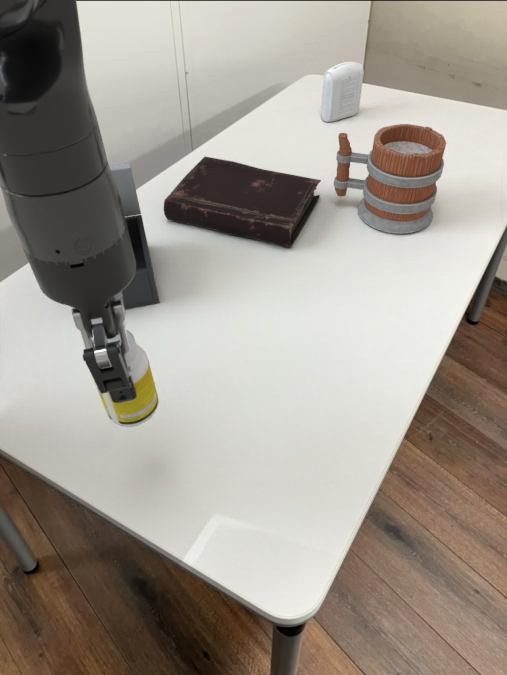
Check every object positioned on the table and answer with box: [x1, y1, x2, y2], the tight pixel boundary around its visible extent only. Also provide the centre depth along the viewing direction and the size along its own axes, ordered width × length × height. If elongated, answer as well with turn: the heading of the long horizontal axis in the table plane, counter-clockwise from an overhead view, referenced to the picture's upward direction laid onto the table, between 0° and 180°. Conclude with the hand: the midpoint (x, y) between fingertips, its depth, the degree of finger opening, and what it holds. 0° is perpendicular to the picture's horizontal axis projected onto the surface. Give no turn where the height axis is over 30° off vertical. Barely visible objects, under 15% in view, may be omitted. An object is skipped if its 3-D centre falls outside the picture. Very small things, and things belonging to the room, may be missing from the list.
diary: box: [163, 156, 322, 249], centre depth 98 cm, size 19×25×5 cm
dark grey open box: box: [122, 214, 160, 310], centre depth 84 cm, size 16×13×7 cm
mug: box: [333, 123, 447, 235], centre depth 93 cm, size 14×19×15 cm
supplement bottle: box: [91, 329, 159, 428], centre depth 50 cm, size 5×5×10 cm
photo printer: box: [320, 61, 365, 123], centre depth 123 cm, size 10×4×12 cm, turn 122°
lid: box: [109, 162, 142, 217], centre depth 78 cm, size 16×13×5 cm
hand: (122, 373), depth 49 cm, fingers closed on supplement bottle, 5 cm apart
